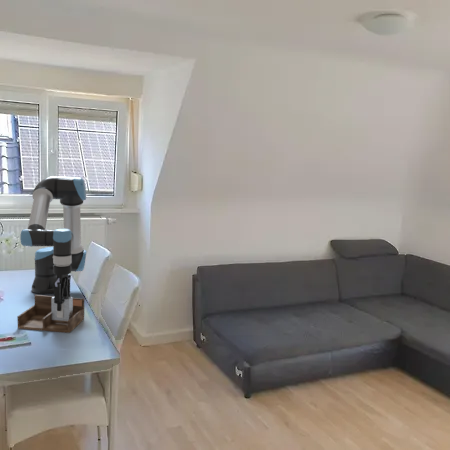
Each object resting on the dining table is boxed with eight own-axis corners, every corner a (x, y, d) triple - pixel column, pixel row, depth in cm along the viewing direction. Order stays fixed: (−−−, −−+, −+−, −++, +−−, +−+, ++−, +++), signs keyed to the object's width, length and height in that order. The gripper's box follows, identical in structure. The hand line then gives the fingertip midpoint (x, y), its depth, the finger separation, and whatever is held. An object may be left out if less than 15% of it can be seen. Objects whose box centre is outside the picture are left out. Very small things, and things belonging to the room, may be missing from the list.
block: (55, 316, 220) (55, 295, 218) (72, 318, 219) (72, 296, 218) (51, 319, 216) (51, 298, 214) (69, 321, 215) (69, 299, 214)
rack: (35, 315, 230) (35, 294, 228) (84, 319, 228) (84, 298, 226) (17, 328, 213) (17, 306, 212) (69, 332, 211) (69, 310, 210)
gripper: (62, 259, 222) (62, 308, 226) (45, 268, 205) (45, 321, 209) (78, 260, 222) (77, 309, 225) (62, 269, 205) (62, 323, 209)
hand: (62, 315), depth 217 cm, fingers closed on block, 4 cm apart
